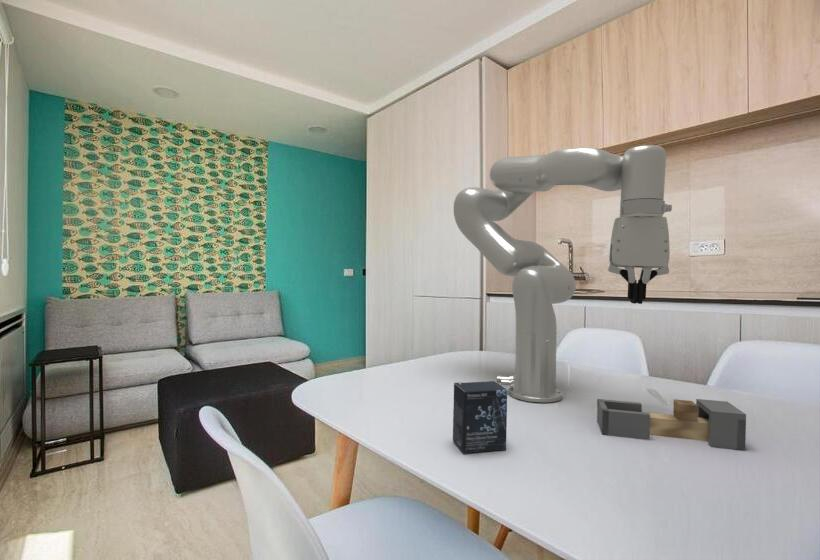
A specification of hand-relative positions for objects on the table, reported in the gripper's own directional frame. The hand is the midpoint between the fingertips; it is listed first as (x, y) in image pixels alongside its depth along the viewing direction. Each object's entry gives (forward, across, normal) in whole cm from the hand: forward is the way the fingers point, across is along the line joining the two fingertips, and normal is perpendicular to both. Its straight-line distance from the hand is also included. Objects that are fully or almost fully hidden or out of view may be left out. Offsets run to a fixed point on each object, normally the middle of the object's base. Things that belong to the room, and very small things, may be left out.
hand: (636, 302), depth 84 cm
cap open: (+24, +2, +6) cm, 25 cm away
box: (+25, +27, +22) cm, 43 cm away
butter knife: (+25, -10, -14) cm, 30 cm away
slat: (+24, -7, +5) cm, 26 cm away
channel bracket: (+24, -14, +5) cm, 28 cm away
